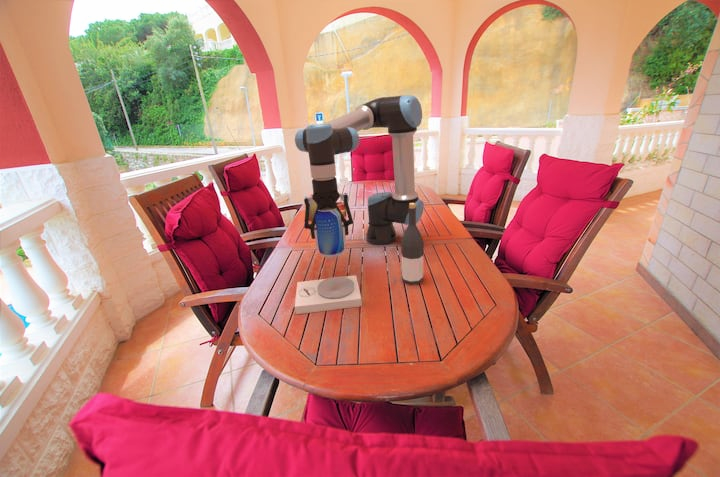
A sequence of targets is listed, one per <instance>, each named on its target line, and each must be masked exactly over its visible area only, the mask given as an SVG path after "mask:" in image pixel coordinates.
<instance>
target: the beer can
mask: <svg viewBox="0 0 720 477" xmlns="http://www.w3.org/2000/svg"><path fill="white" fill-rule="evenodd" d="M315 219H316V225H315V227H316V229H317V237H318V245H319V249H318V252H319V253H320V254H321V256H322V257H323V258H328V259H330V258H337V257H339V256H342V254H343V252H344V251H345V246H344V242H343V230H342V225H343V222H342V221H341V214H340V213H339V211H338V210H337V208H335V209H334V208H333V207H331V208H329V207H326V208H321V210H318V212H317V214H316V216H315Z"/></svg>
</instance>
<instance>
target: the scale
mask: <svg viewBox="0 0 720 477" xmlns="http://www.w3.org/2000/svg"><path fill="white" fill-rule="evenodd" d="M296 283H297V284H296V291H295V292H296V293H295V300H294V310H295V311H294V312H295V315H301V314H302V315H303V314H310V313H317V312H327V311H334V310H335V311H336V310H343V309H350V308H357V307H362V305H363V302H362V297H361V296H362V295H361V291H360V287H359V283H358V278H357V275H347V276H331V277H328V278H323V279H322V278H321V279H313V280H305V281H298V282H296Z"/></svg>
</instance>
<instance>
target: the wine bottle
mask: <svg viewBox="0 0 720 477" xmlns="http://www.w3.org/2000/svg"><path fill="white" fill-rule="evenodd" d="M408 209H409V225H407V226H406V229H405V230H404V232H403V234H402V237H401V242H400V243H401V244H400V249H401V253H400V254H401V255H400V256H401V262H400V263H401V280H402V282H403V283H404V284H407V285H409V286H412V285H413V286H414V285H420V284H421V283H422V282H423V281H424V246H425V245H424V244H425V243H424V240H423V236H422V233H421V231H420V230H419V227H418V226H417V224H416V207H415V203H410V204H409V208H408Z"/></svg>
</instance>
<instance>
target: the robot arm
mask: <svg viewBox="0 0 720 477" xmlns="http://www.w3.org/2000/svg"><path fill="white" fill-rule="evenodd" d="M422 119H423V109H422V105H421V102H420V101H419V99H418V98H417V96H416V95H415V96H414V95H406V94H405V95H404V94H403V95H395V96H386V97H384V96H382V97H378V98H374V99H372V100H369V101H368V102H365V103H363V104H360V105H358V106H357V107H356V108H355V109H354V110H353V111H350V112H349V113H346V114H343V115H340V116H339V117H335V118H334V119H331V120H329V121H326V122H324V123H316V124H309V125H307V126H306V128H304V129H303V128H302V129H298V131H297V132H296V133H295V136H294V142H295V146H296V148H297V149H298V150H299V151H300V152H306V153H308V157H309V158H308V159H309V168H310V176H311V178H312V180H311V183H312V184H311V185H312V192H313V193H312V195H313V196H311V195H310V196H305V197H304V198H303V202H304V205H305V212H304V229H305V230H307V229H308V230H310V234H311V235H310V236H311V239H313V240H314V239H315V247H316V248H315V249H317V250H319V245H318V237H317V229H316V219H315V216H316V214H317V212H318V210H321V208H326V207H329V208H331V207H333V208H334V209H335V208H337V210H338V211H339V213H340V214H341V221H342V230H343V242H344V247H346V246H347V239H346V238H347V237H346V236H349V234H350V233H349V226H350V225H353V224H354V219H353V216H352V212H351V209H350V205H349V195H348V193H347V192H344V193H340V192H339V190H338V181H337V178H336V176H337V170H336V160H335V159H336V158H335V156H336V155H341V154H345V153H351V152H352V151H355V150H356V149H357V148H358V147H359V146H360V145H359V144H360V136H359V135H360V134H359V133H358V132H360V131H361V130H364V131H365V130H366V131H368V130H370V129H376V128H384V129H385V128H387V133H388V135H389V136H391V139H392V141H391V142H392V143H391V144H392V157H393V159H392V160H393V175H394V178H393V179H394V193H393V194H392V192H390V191H383V192H378V193H373V194H371V195H369V196H368V198H367V212H368V228H367V232H366V235H365V237H366V239H365V241H366V242H367V243H369V244H371V245H376V246H384V245H385V246H386V245H390V244H392V243H395V242H396V241H397V239H398V238H397V236H398V235H397V232H396V229H395V226H394V223H396V224H402V225H406V226H408V225H409V209H408V208H409V204H410V203H415V207H416V225H417V224H418V223H419V221H420V220H421V218H422V217H423V213H424V210H425V209H424V207H425V204H424V201H423V200H422V199H419V193H418V192H417V191H416V190H415V189H416V187H415V186H416V185H415V184H416V183H415V158H414V157H415V155H414V135H415V133H417V131H418V127H419V126H420V125H421V124H422ZM339 199H340V200H341V201H342V202H343V205H344V207H345V212H346V216H347V218H348V219H346V217H345V215H344V214H343V212H342V210H341V209H340V207H339V206H338V204H337V202H338V200H339ZM312 200H314V201H315V202H316V203H317V204H318V205H317V208H316V211H315V214H314V217H313V218H312V220H311V223H309V221H310V216H309V209H310V204H311V203H312Z"/></svg>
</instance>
